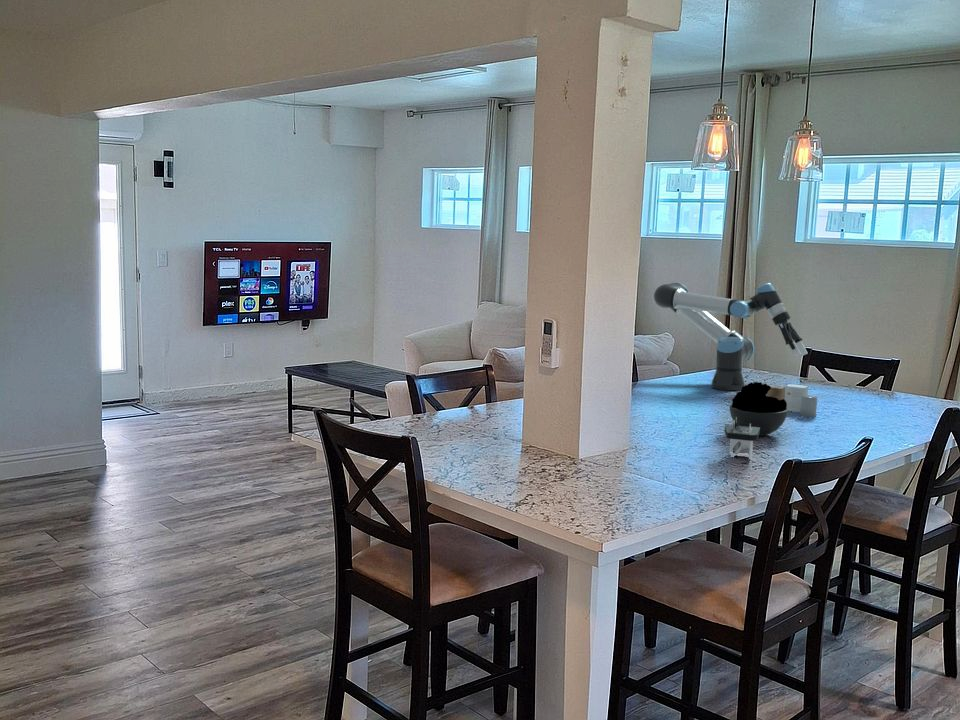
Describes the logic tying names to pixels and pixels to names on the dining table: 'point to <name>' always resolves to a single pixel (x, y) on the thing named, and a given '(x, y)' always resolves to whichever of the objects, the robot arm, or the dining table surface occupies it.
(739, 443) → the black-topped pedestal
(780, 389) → the walnut block
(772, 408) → the bowl of black rocks
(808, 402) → the white rectangular block
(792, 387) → the small box
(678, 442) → the dining table surface
